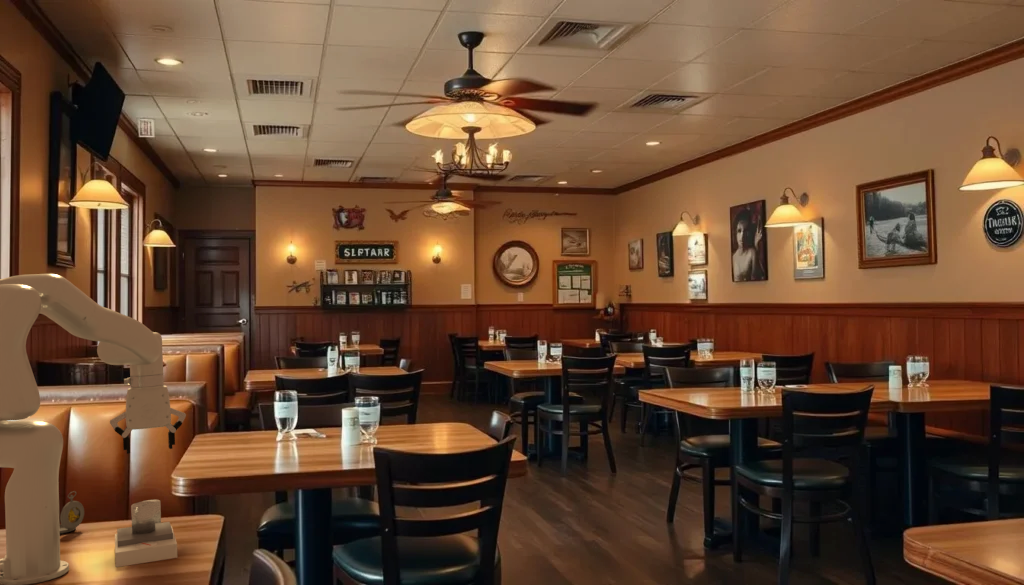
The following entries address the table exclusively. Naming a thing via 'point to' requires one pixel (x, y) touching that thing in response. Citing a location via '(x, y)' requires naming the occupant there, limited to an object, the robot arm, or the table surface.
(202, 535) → the table surface
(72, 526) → the pocket watch
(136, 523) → the cylinder
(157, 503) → the cylinder
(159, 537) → the scale
